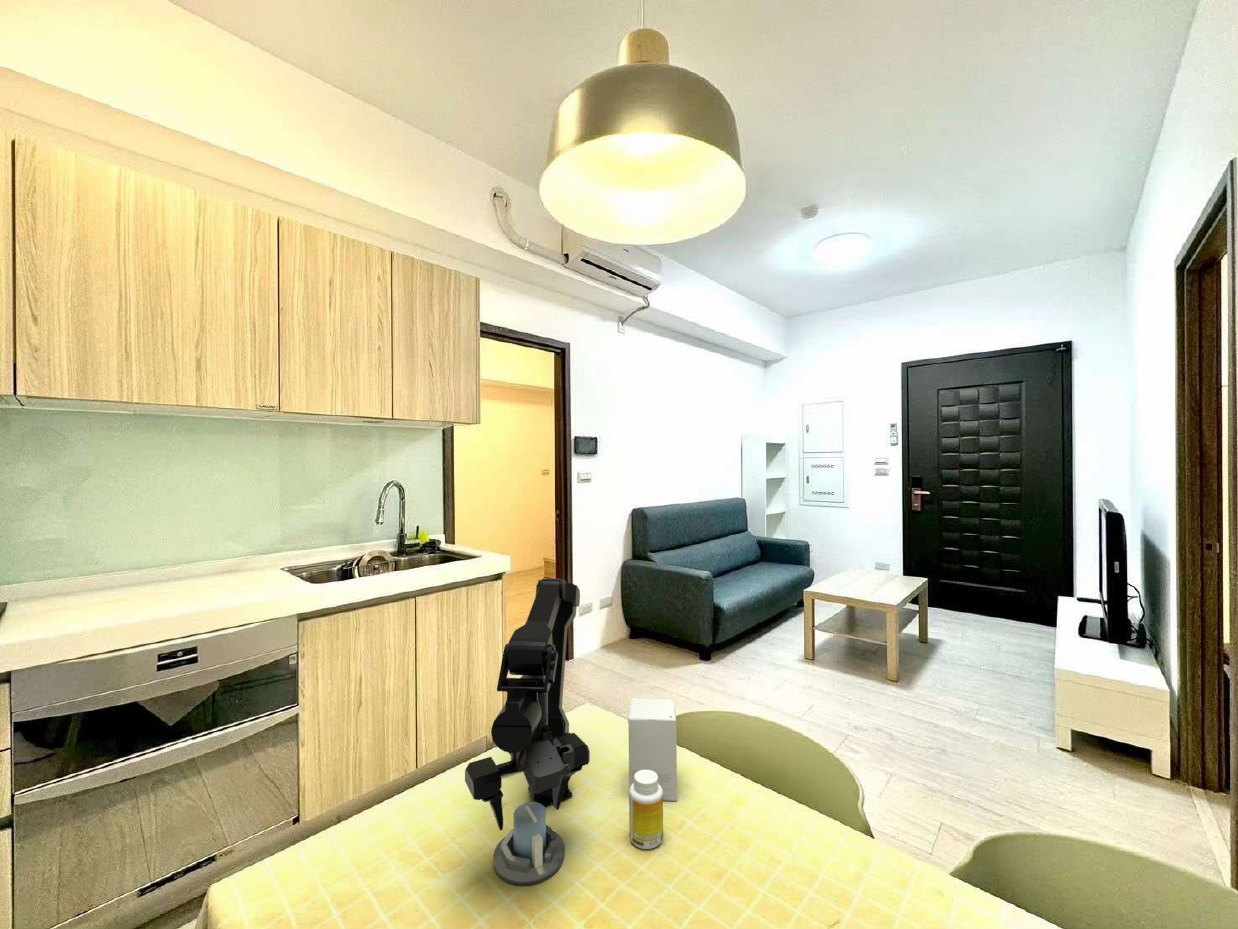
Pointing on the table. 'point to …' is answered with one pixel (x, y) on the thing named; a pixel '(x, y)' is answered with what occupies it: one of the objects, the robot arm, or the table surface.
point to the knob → (530, 832)
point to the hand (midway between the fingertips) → (529, 818)
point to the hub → (528, 861)
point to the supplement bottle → (646, 810)
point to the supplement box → (654, 742)
